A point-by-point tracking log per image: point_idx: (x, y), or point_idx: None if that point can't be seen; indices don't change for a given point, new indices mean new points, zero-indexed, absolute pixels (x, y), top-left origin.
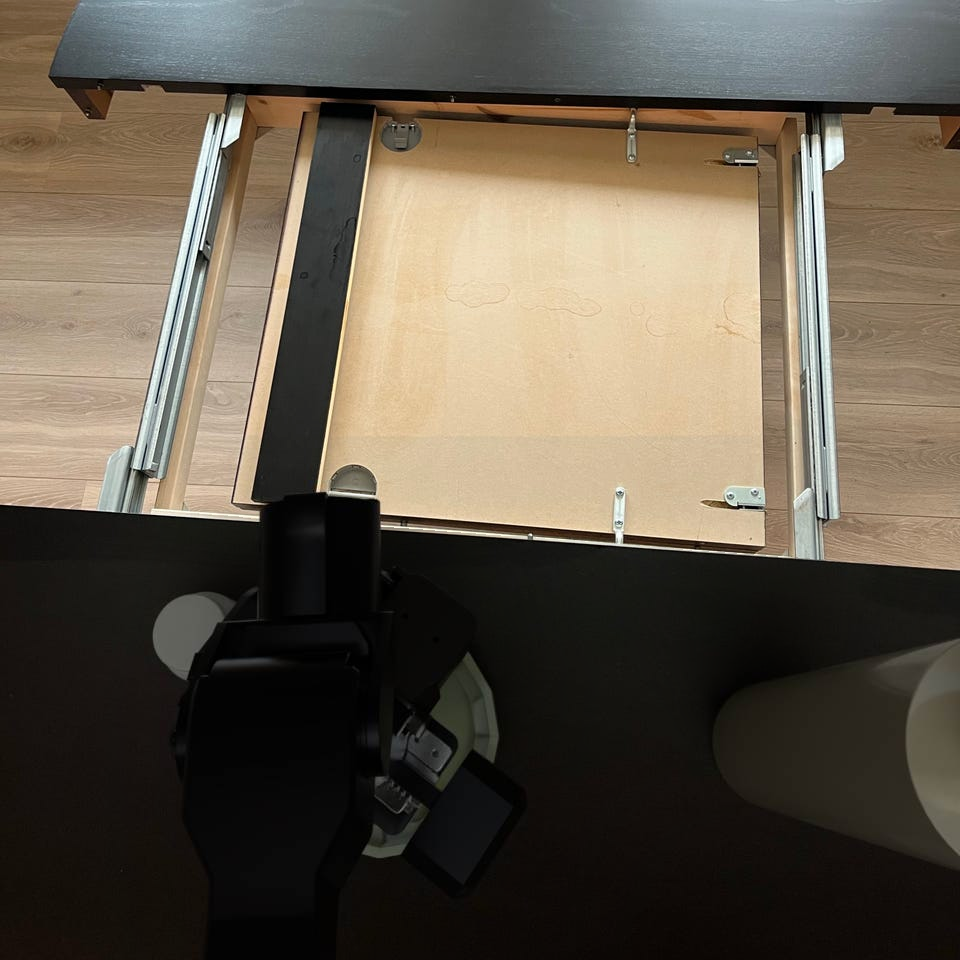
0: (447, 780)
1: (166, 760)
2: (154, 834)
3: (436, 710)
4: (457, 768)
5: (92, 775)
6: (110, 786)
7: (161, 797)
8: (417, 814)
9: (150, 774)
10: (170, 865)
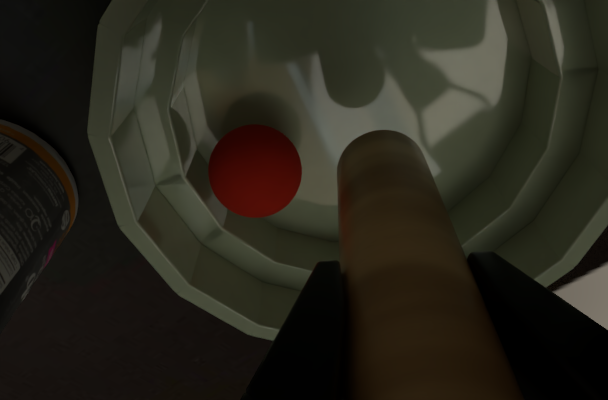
0: (498, 101)
1: (106, 334)
2: (175, 386)
3: (402, 10)
4: (505, 71)
5: (58, 390)
6: (86, 385)
7: (143, 360)
8: (477, 176)
9: (107, 353)
10: (219, 393)
